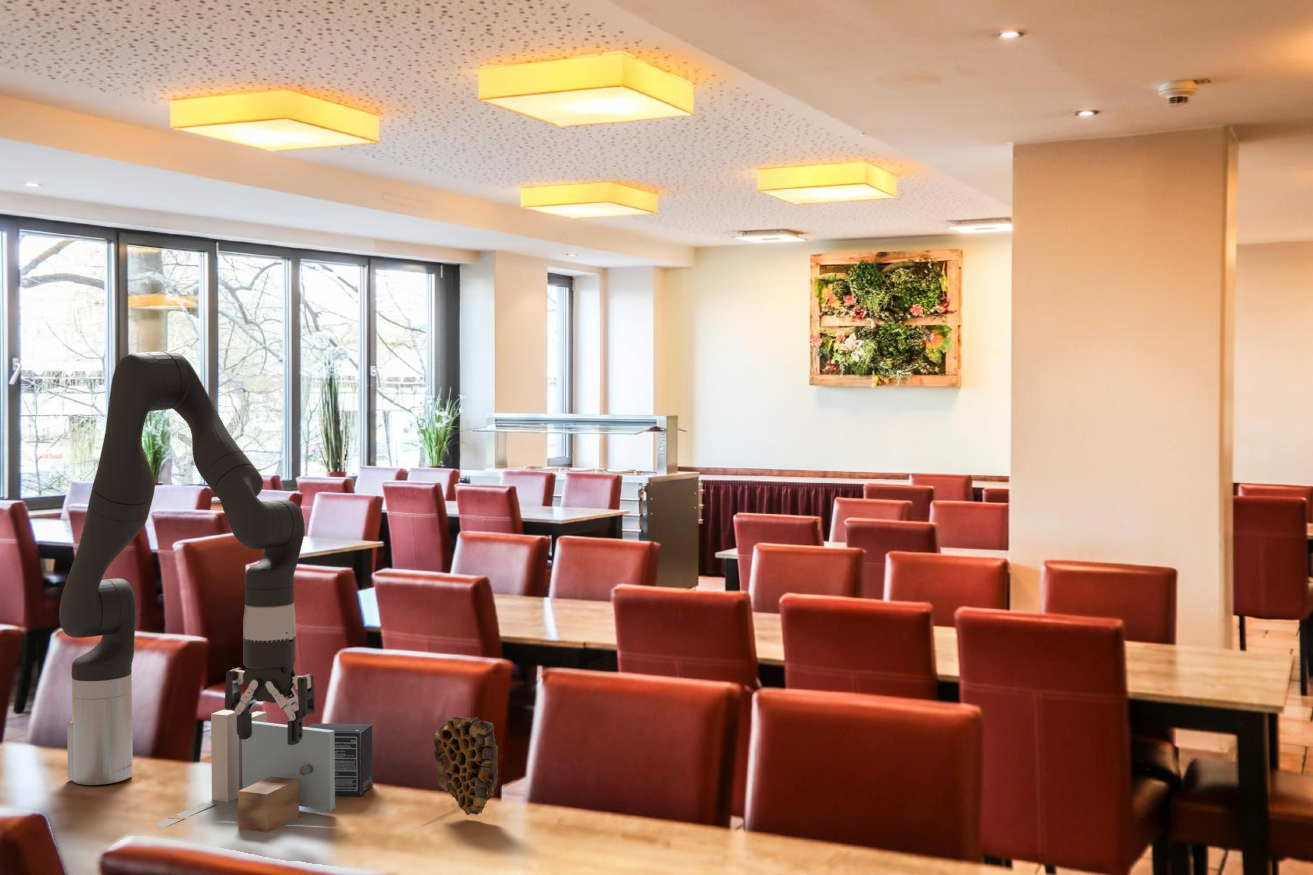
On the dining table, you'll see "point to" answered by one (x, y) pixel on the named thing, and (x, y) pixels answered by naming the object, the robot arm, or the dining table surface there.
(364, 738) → the small box
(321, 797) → the door
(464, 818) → the dining table surface
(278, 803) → the block
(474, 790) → the brown wasp nest
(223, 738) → the door frame
